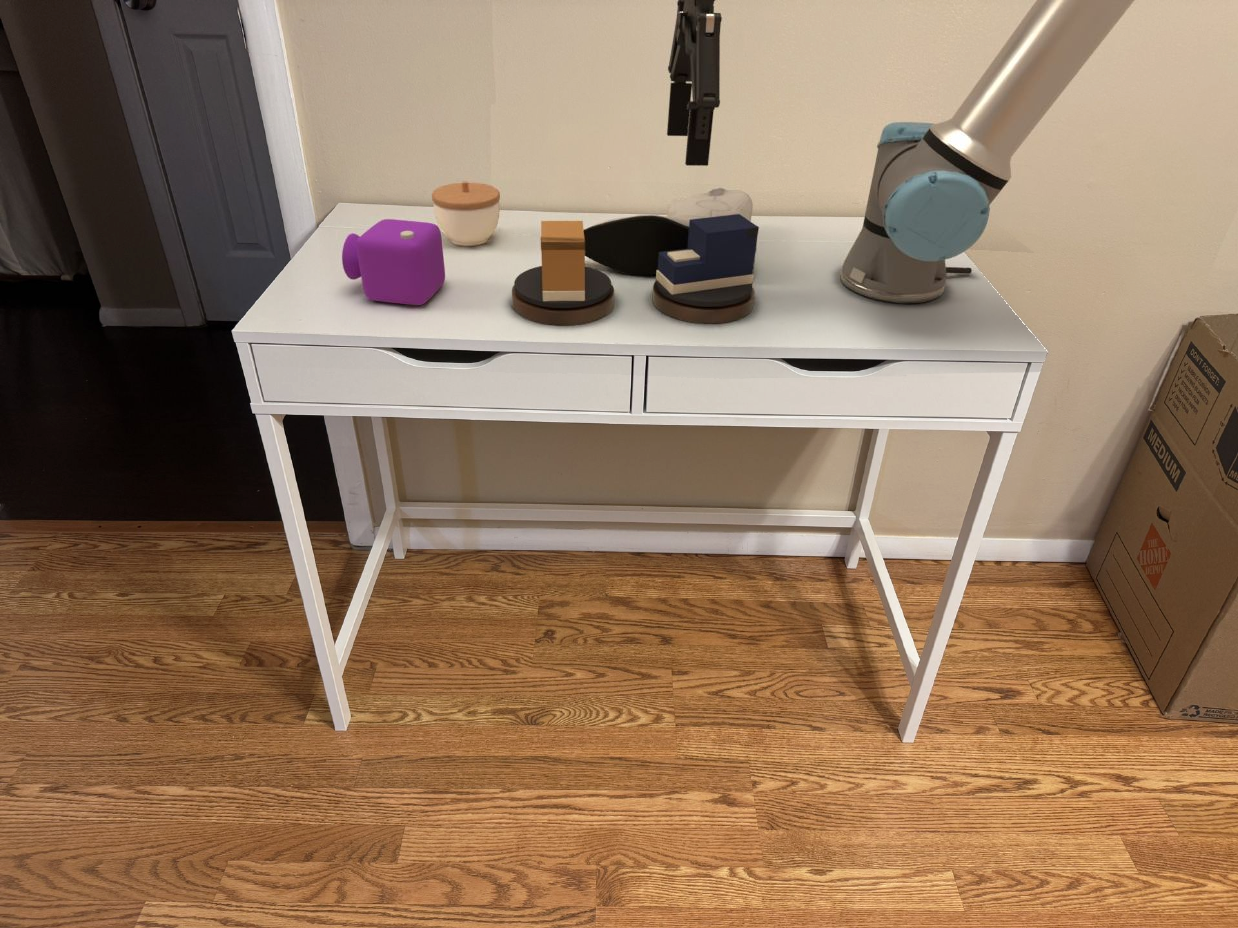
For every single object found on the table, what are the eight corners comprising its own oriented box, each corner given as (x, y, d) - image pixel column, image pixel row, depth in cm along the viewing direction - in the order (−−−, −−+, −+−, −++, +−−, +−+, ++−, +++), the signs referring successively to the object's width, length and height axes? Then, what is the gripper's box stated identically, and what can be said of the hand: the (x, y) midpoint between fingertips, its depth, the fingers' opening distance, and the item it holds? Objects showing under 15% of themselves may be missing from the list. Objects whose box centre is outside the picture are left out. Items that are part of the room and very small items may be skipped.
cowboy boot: (761, 235, 120) (765, 185, 140) (575, 205, 122) (605, 159, 142) (748, 296, 125) (753, 239, 146) (570, 266, 127) (599, 214, 148)
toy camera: (358, 276, 124) (346, 210, 118) (449, 278, 124) (443, 212, 118) (337, 307, 115) (324, 237, 110) (436, 309, 115) (428, 239, 110)
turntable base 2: (742, 281, 126) (743, 268, 125) (762, 323, 114) (764, 310, 113) (647, 282, 125) (648, 269, 124) (658, 324, 113) (659, 311, 112)
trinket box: (426, 235, 139) (419, 178, 133) (484, 224, 144) (480, 169, 138) (453, 256, 131) (447, 196, 126) (513, 244, 136) (510, 186, 131)
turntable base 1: (610, 282, 125) (610, 269, 124) (617, 325, 113) (617, 311, 112) (513, 282, 124) (513, 270, 122) (510, 326, 112) (510, 312, 111)
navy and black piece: (724, 263, 126) (731, 204, 120) (769, 299, 115) (778, 236, 110) (641, 274, 122) (644, 213, 116) (680, 312, 111) (684, 248, 106)
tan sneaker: (614, 308, 112) (616, 243, 107) (513, 309, 111) (509, 243, 106) (608, 268, 123) (609, 208, 118) (515, 269, 122) (512, 208, 117)
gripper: (763, -30, 85) (737, 179, 98) (712, -51, 105) (696, 125, 118) (691, -33, 84) (674, 178, 97) (653, -53, 105) (643, 124, 117)
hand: (686, 149), depth 107 cm, fingers open, 13 cm apart
